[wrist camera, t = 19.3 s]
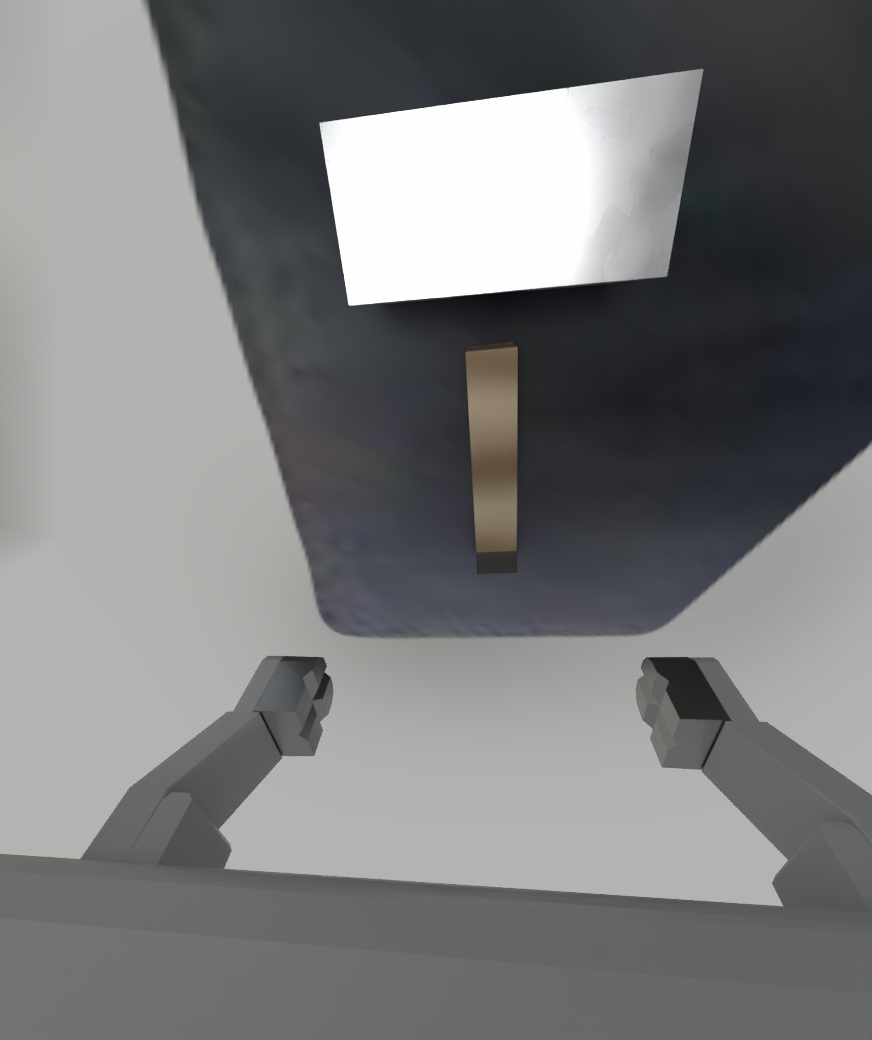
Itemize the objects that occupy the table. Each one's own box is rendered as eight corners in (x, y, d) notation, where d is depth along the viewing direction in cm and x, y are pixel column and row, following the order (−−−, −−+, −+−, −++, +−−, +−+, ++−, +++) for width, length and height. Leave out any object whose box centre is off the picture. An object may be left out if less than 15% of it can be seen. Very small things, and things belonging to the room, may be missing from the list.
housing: (367, 180, 22) (319, 122, 15) (622, 149, 20) (703, 68, 13) (383, 304, 24) (348, 305, 17) (607, 284, 23) (666, 276, 16)
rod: (465, 346, 25) (465, 352, 23) (512, 342, 25) (517, 346, 22) (476, 552, 33) (477, 573, 30) (512, 550, 33) (516, 572, 30)
